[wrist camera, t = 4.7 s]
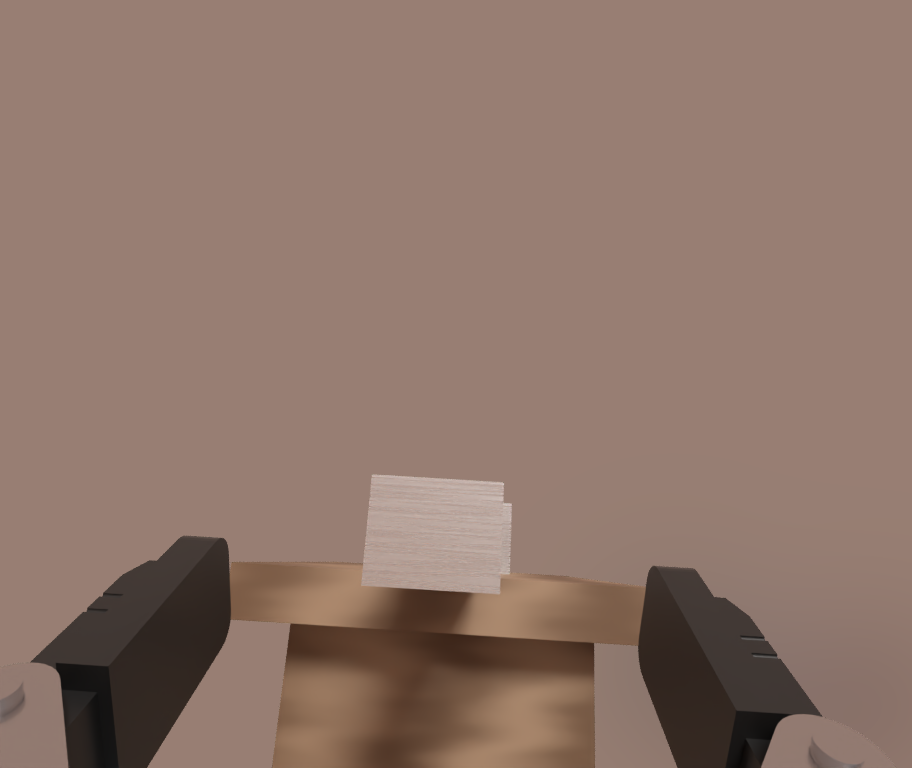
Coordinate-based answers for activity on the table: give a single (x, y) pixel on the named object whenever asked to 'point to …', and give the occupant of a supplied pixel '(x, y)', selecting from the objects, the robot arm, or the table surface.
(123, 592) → the robot arm
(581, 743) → the stand
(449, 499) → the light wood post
